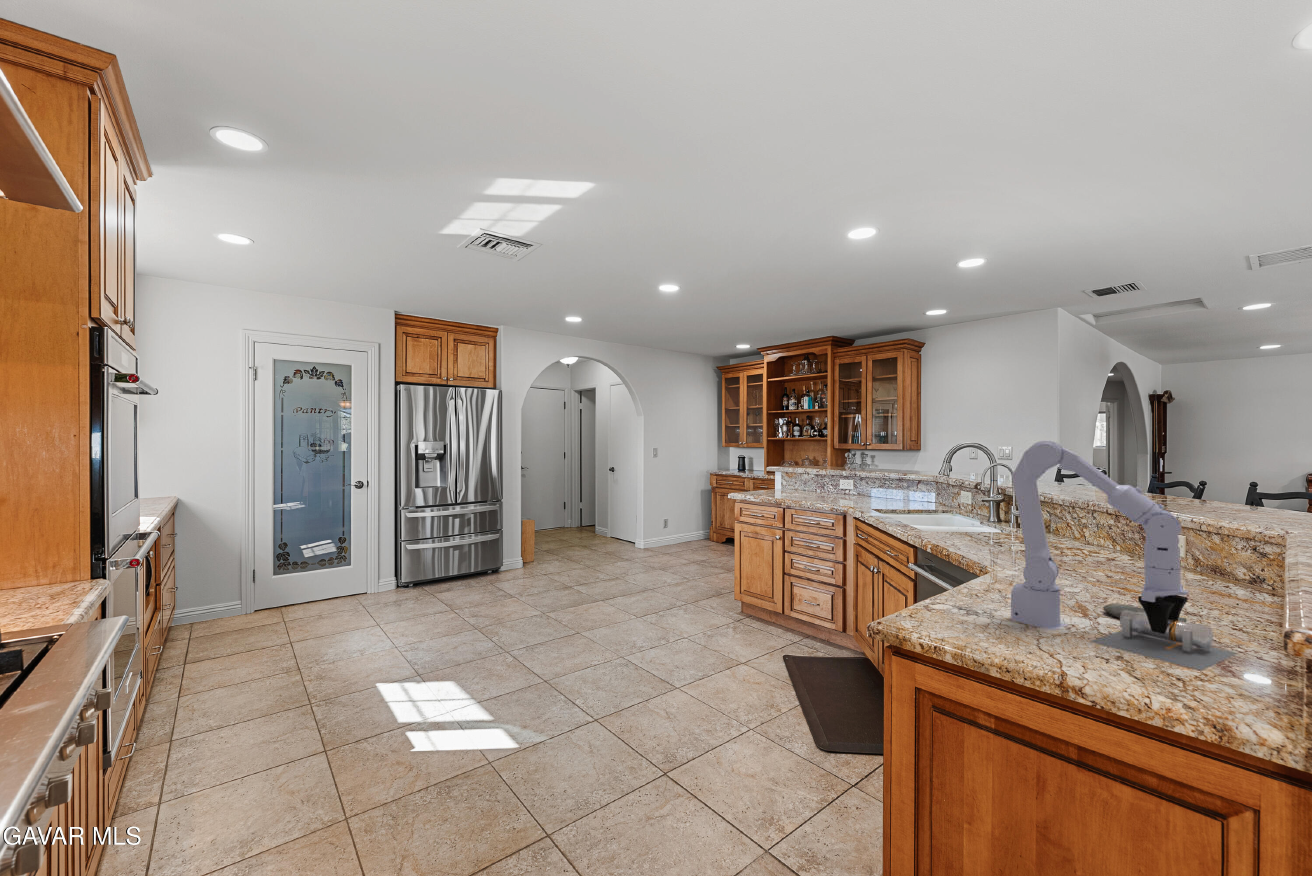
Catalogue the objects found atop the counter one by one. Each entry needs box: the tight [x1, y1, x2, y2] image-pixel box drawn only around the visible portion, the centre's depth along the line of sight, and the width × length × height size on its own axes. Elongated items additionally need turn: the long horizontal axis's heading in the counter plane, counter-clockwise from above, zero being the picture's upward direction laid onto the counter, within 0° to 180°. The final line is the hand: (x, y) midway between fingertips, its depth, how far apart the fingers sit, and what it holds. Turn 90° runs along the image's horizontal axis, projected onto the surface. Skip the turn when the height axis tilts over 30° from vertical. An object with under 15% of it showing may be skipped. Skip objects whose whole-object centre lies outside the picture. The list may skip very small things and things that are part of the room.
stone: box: [1102, 603, 1187, 622], centre depth 135 cm, size 11×4×15 cm
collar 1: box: [1122, 612, 1146, 639], centre depth 123 cm, size 1×8×4 cm, turn 118°
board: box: [1089, 629, 1238, 672], centre depth 116 cm, size 18×18×1 cm
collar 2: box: [1182, 623, 1207, 654], centre depth 114 cm, size 1×8×4 cm, turn 118°
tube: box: [1119, 610, 1214, 649], centre depth 119 cm, size 14×4×4 cm, turn 28°
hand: (1163, 630), depth 119 cm, fingers closed on tube, 4 cm apart
